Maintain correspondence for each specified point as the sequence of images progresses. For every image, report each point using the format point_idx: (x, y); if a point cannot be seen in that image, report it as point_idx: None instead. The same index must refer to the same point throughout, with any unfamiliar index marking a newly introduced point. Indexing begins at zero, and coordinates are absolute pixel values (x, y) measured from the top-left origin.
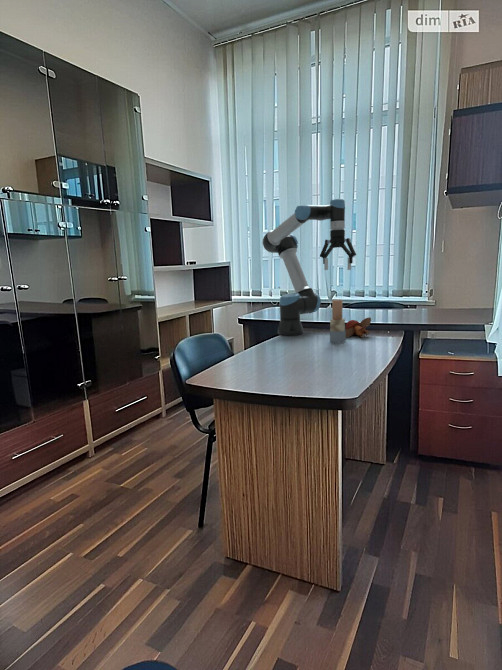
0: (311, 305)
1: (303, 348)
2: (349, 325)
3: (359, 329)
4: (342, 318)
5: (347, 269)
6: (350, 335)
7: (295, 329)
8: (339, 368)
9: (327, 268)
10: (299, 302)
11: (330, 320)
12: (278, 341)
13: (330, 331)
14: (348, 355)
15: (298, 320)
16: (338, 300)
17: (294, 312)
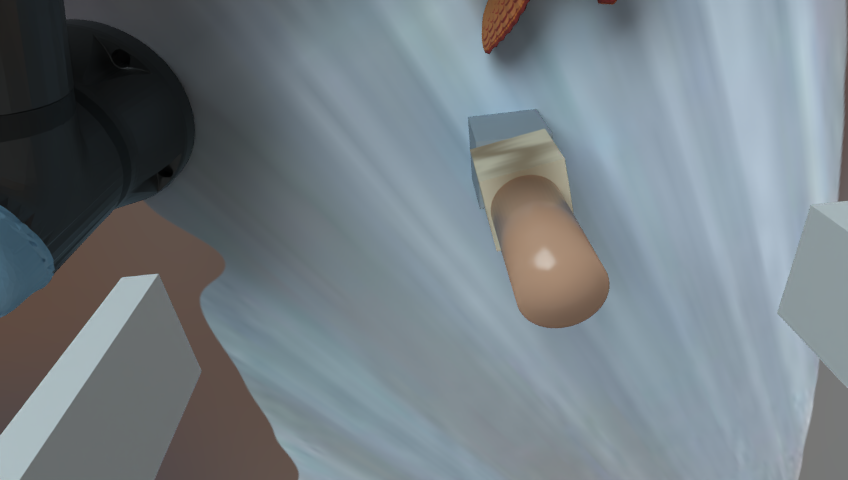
0: (53, 15)
1: (441, 338)
2: None
3: (606, 1)
4: (549, 169)
5: (784, 319)
6: None
7: (170, 161)
8: (686, 445)
9: (155, 326)
10: (42, 192)
11: (497, 249)
12: (243, 303)
13: (483, 207)
14: (662, 330)
15: (128, 142)
16: (586, 311)
17: (101, 211)
